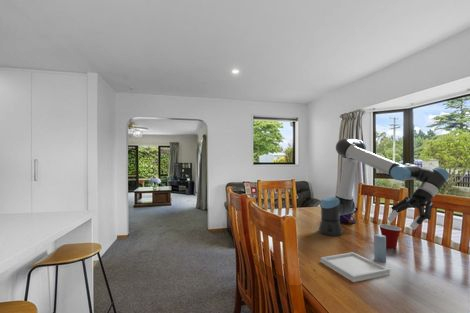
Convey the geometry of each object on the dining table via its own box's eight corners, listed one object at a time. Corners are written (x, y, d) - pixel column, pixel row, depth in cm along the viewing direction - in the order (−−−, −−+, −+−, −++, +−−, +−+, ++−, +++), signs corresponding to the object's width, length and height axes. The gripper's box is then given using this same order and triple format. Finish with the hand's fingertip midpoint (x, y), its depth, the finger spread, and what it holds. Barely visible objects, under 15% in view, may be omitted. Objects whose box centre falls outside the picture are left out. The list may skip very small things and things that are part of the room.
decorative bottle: (357, 226, 173) (357, 193, 173) (327, 223, 183) (327, 191, 184) (358, 220, 193) (358, 189, 193) (331, 217, 203) (330, 188, 203)
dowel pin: (371, 259, 117) (371, 234, 117) (379, 257, 118) (379, 233, 119) (381, 263, 112) (380, 238, 112) (388, 261, 114) (388, 236, 114)
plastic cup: (405, 251, 126) (405, 229, 126) (383, 250, 128) (383, 228, 128) (396, 244, 137) (396, 224, 137) (376, 243, 139) (375, 223, 139)
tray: (320, 261, 114) (320, 257, 114) (352, 256, 120) (352, 252, 120) (353, 282, 95) (353, 276, 95) (389, 274, 101) (389, 269, 101)
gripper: (455, 202, 107) (428, 237, 105) (408, 195, 132) (385, 223, 129) (445, 191, 107) (418, 225, 104) (399, 185, 131) (376, 213, 129)
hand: (399, 224), depth 117 cm, fingers open, 13 cm apart
